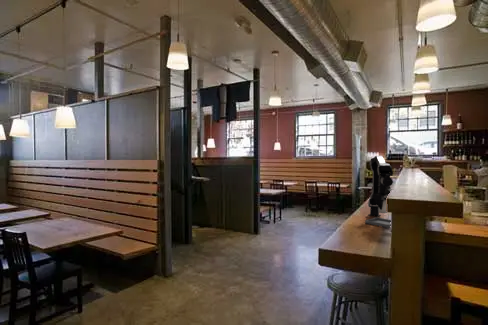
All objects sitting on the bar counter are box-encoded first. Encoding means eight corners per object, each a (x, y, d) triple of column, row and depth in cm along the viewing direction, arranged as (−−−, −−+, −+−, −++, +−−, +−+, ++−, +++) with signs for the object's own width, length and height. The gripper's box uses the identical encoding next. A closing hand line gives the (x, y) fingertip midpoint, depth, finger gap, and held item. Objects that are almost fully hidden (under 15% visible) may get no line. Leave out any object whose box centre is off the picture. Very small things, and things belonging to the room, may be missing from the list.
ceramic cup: (380, 211, 201) (381, 198, 200) (388, 212, 197) (389, 199, 196) (376, 212, 198) (377, 199, 197) (384, 213, 194) (385, 200, 193)
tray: (376, 220, 208) (376, 217, 208) (399, 224, 197) (400, 221, 197) (365, 223, 198) (365, 220, 198) (388, 228, 187) (388, 225, 187)
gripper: (389, 187, 184) (388, 213, 185) (403, 184, 196) (402, 209, 197) (371, 185, 193) (370, 210, 193) (386, 182, 205) (385, 206, 205)
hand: (382, 209), depth 197 cm, fingers closed on ceramic cup, 5 cm apart
